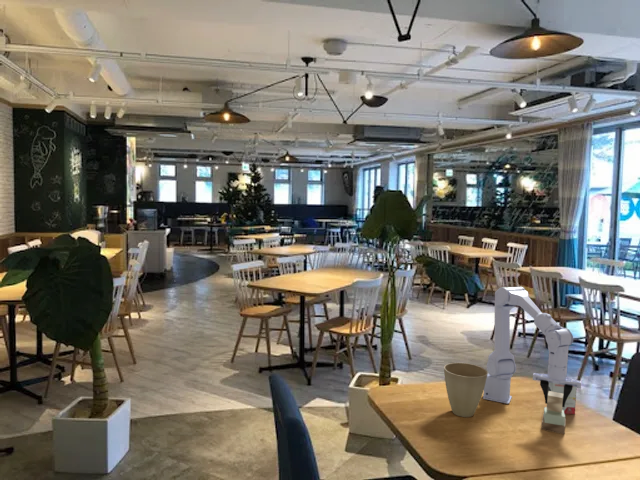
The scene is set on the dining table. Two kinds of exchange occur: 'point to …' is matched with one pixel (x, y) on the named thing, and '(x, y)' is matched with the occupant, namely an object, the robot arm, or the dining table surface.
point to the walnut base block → (553, 427)
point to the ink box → (570, 400)
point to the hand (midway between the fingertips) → (554, 404)
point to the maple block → (555, 401)
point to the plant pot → (464, 387)
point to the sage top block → (554, 417)
